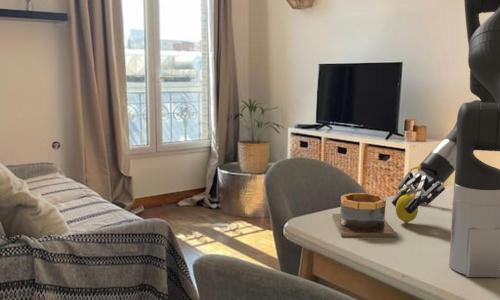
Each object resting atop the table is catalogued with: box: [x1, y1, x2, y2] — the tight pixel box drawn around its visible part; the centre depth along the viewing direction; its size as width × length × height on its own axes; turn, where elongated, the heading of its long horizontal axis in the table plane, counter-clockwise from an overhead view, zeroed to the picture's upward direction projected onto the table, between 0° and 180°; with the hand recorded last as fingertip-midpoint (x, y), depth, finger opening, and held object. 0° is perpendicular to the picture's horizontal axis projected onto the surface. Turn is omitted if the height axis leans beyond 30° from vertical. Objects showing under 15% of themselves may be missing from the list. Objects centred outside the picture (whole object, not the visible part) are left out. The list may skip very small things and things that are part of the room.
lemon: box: [395, 194, 419, 224], centre depth 128 cm, size 6×6×8 cm
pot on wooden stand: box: [331, 192, 397, 238], centre depth 126 cm, size 16×13×8 cm
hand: (400, 208), depth 128 cm, fingers closed on lemon, 5 cm apart
